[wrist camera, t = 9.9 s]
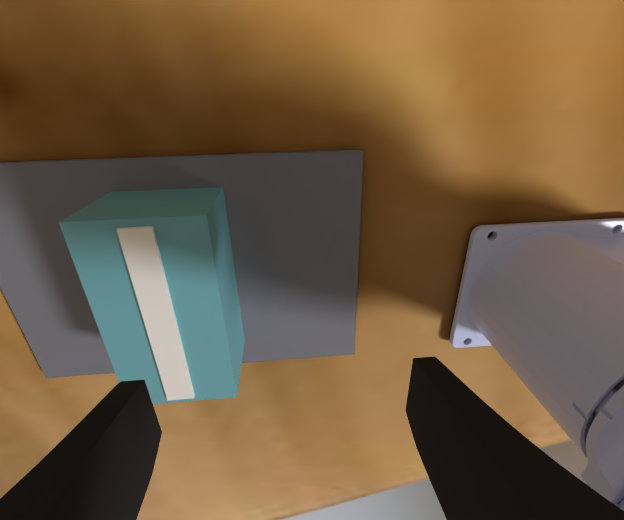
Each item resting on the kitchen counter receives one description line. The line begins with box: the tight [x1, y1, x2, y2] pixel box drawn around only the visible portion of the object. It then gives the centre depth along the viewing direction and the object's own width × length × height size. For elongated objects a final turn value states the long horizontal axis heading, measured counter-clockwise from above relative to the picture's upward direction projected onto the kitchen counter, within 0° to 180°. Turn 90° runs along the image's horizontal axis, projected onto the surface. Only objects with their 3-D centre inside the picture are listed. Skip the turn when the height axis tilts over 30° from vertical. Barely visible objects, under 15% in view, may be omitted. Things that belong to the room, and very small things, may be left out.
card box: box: [59, 187, 245, 404], centre depth 16 cm, size 9×5×4 cm, turn 1°
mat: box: [0, 149, 364, 378], centre depth 18 cm, size 18×12×1 cm, turn 91°
